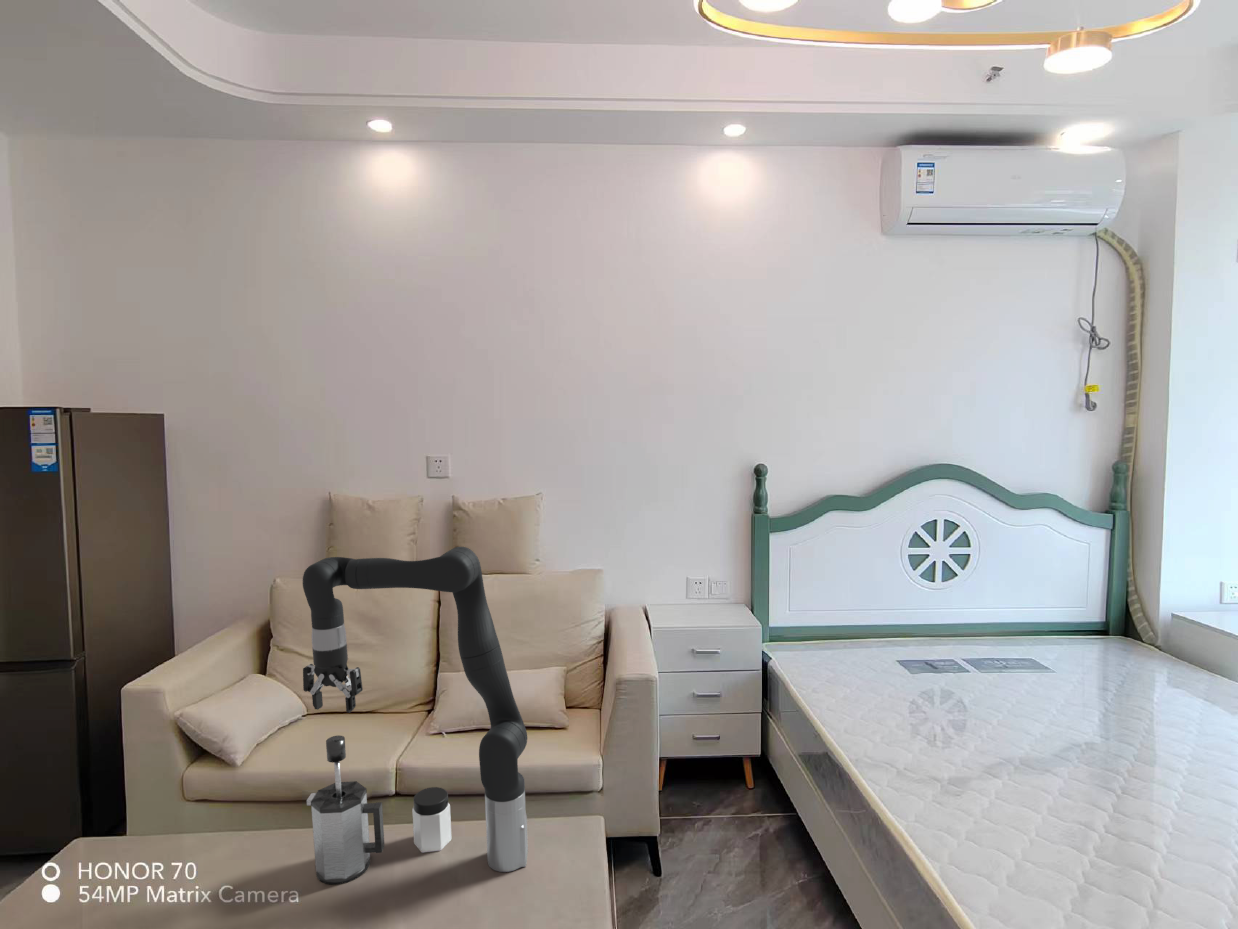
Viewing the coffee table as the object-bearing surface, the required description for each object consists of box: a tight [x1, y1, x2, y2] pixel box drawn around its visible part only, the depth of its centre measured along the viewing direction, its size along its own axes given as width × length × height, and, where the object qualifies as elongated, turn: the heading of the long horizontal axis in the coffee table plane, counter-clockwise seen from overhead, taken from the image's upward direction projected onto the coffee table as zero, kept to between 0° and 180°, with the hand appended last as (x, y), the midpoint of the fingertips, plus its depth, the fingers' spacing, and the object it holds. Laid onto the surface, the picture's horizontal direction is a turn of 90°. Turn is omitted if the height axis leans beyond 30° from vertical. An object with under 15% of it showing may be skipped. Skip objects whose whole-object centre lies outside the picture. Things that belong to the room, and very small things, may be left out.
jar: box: [411, 786, 452, 853], centre depth 179 cm, size 9×8×12 cm
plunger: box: [325, 734, 347, 798], centre depth 168 cm, size 4×4×20 cm
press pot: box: [306, 780, 385, 886], centre depth 170 cm, size 16×12×18 cm
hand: (334, 709), depth 173 cm, fingers open, 8 cm apart
